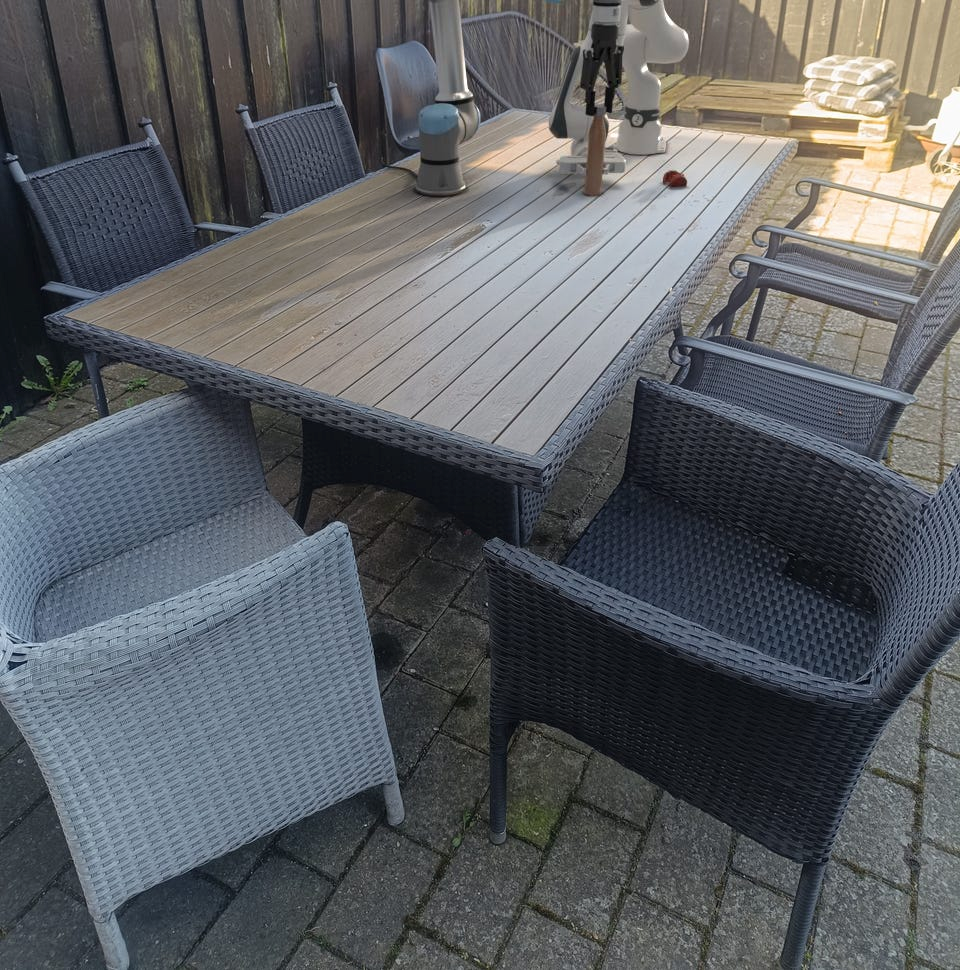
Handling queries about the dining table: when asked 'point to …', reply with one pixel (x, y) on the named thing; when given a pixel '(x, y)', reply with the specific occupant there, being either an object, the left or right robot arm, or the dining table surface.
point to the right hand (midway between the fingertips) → (594, 171)
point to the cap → (599, 110)
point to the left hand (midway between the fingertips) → (598, 113)
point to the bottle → (595, 157)
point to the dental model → (675, 179)
